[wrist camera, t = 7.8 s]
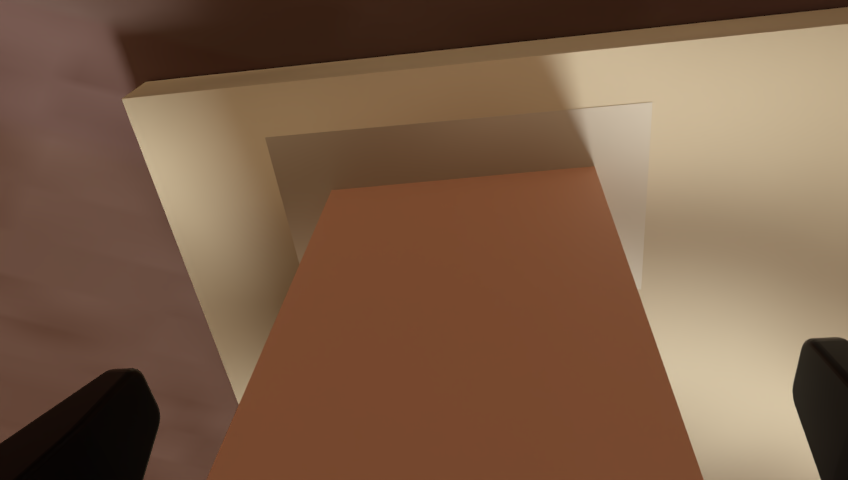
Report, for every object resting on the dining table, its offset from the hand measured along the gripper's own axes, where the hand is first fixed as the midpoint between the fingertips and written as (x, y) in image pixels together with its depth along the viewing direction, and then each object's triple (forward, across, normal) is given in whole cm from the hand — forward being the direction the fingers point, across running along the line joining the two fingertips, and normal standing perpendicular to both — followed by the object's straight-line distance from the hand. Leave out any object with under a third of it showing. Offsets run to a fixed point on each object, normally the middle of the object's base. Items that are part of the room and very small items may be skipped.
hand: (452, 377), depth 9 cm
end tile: (+4, 0, 0) cm, 4 cm away
